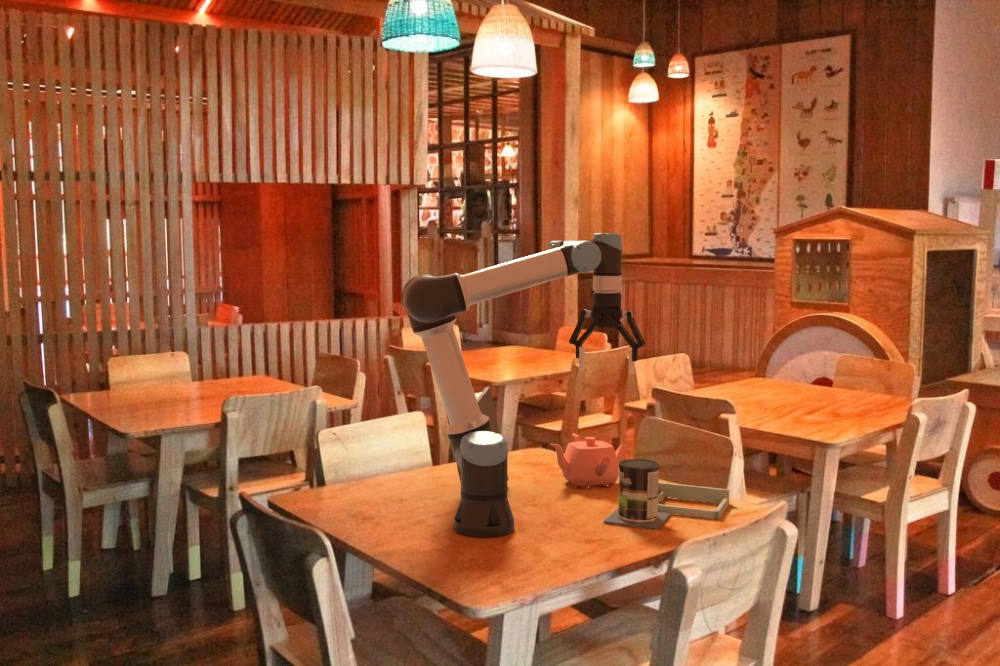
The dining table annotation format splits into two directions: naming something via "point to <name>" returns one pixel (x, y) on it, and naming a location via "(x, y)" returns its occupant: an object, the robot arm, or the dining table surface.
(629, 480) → the coffee can
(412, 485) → the dining table surface
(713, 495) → the rack
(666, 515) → the mat
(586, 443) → the teapot
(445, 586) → the dining table surface
